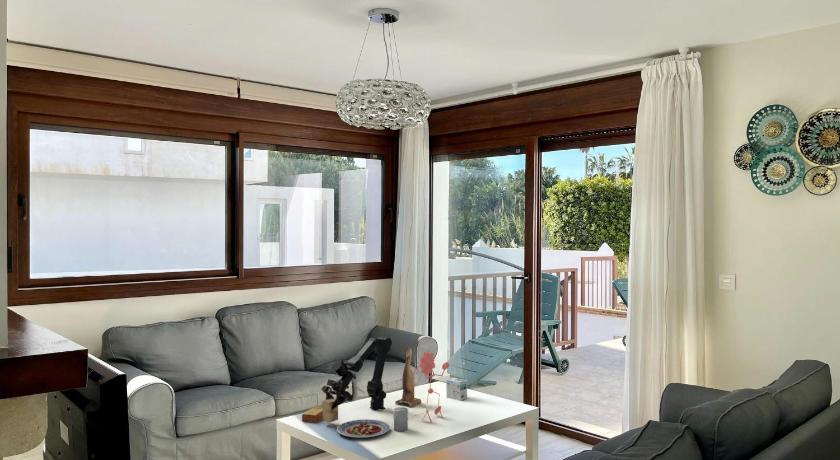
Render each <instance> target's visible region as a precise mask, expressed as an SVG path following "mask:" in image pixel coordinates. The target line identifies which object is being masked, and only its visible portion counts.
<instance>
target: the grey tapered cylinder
mask: <svg viewBox="0 0 840 460" xmlns="http://www.w3.org/2000/svg"><path fill="white" fill-rule="evenodd" d="M408 413H409V410H408V408H407V407H403V406H402V407H400V406H398V407H395V408H393V431H394V432H398V433H399V432H400V433H403V432H407V431H408V430H409V420H408V419H409V418H408V416H409V414H408Z"/></svg>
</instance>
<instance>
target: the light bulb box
mask: <svg viewBox="0 0 840 460" xmlns="http://www.w3.org/2000/svg"><path fill="white" fill-rule="evenodd" d="M445 383H446V385H445V386H446V395H445V396H446V398H447V399H451V400H456V401H460V402H461V401H463V400H467V399H468V380H467V379H461V378H457V377H450V378H447V379H446V381H445Z"/></svg>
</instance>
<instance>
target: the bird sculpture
mask: <svg viewBox="0 0 840 460" xmlns="http://www.w3.org/2000/svg"><path fill="white" fill-rule="evenodd" d="M412 354H413V350H412V348H411V347H408V348H407V351H406V352H405V357H404V358H405V359H406V360H405V364H404V367H403V373H402V383H401V384H402V385H401V386H402V396H401V398H399V399H397V400H395V402H394V403H395V404H396V405H397V404H399V403H405V404H408V405H409V406H410V408H413V407H415V406H418V405H420V404H422V400H421V398H417V397H415V374H414V373H413V372H414V371H412V369H411V364H412V363H411V362H412ZM412 373H413V374H412ZM411 374H412V375H411Z"/></svg>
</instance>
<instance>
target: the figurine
mask: <svg viewBox="0 0 840 460" xmlns="http://www.w3.org/2000/svg"><path fill="white" fill-rule="evenodd" d="M434 354H435V353H434V352H430V351H429V350H428V351H426V352H423V354H422V357H420V358H419V361H420V364H419V365H418V366H417V367H416V368H415V369H414V370H413V371H412V372H413V373H412V374H414V373H415V372H416V371H417V370H418V369H419V368H421V369H420V373H421V374H424V376H425V378H426V379H429V387H428V389H427V397H426V405H428V401H429V394H430V395H431V394H433V393H435V394H437V395H438V396H440V395H441V394H440V393H439V392H436V391H434V389H433V388H431V386H432V385H431V383H432V379H433V378H434V377H435V376H436V377H437V376H438V377H443V376H444V372H445V370H448V369H449V367H450V363H449V362H448V361H446V362H444V363H443V364H442V366H441V368H442V370H443V371H442V373H441V374H436V373H434V370H433V369H436V364H435V358H434ZM412 374H411V375H412ZM429 374H430V375H429ZM428 375H429V376H428ZM437 401H438V403H437V407H436V408H435V410H434V415H435V416H438V414H440V416H441V419H444V417H443V416H444V415H442V411H441V409H442V407H441V406H440V399H438V400H437ZM429 411H430V410H428V409H427V410H426V411H425V412H423V413H422V414H425V415H424V416H423V418H422V419H421V421H423V420H424V419H425V418H426V416H427V415H428V416H427V417H428V419H429V421H430V423H433V421H432V420H431V416H430V414H429ZM418 415H420V414H415V415H413V416H412V418H414V417H416V416H418Z"/></svg>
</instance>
